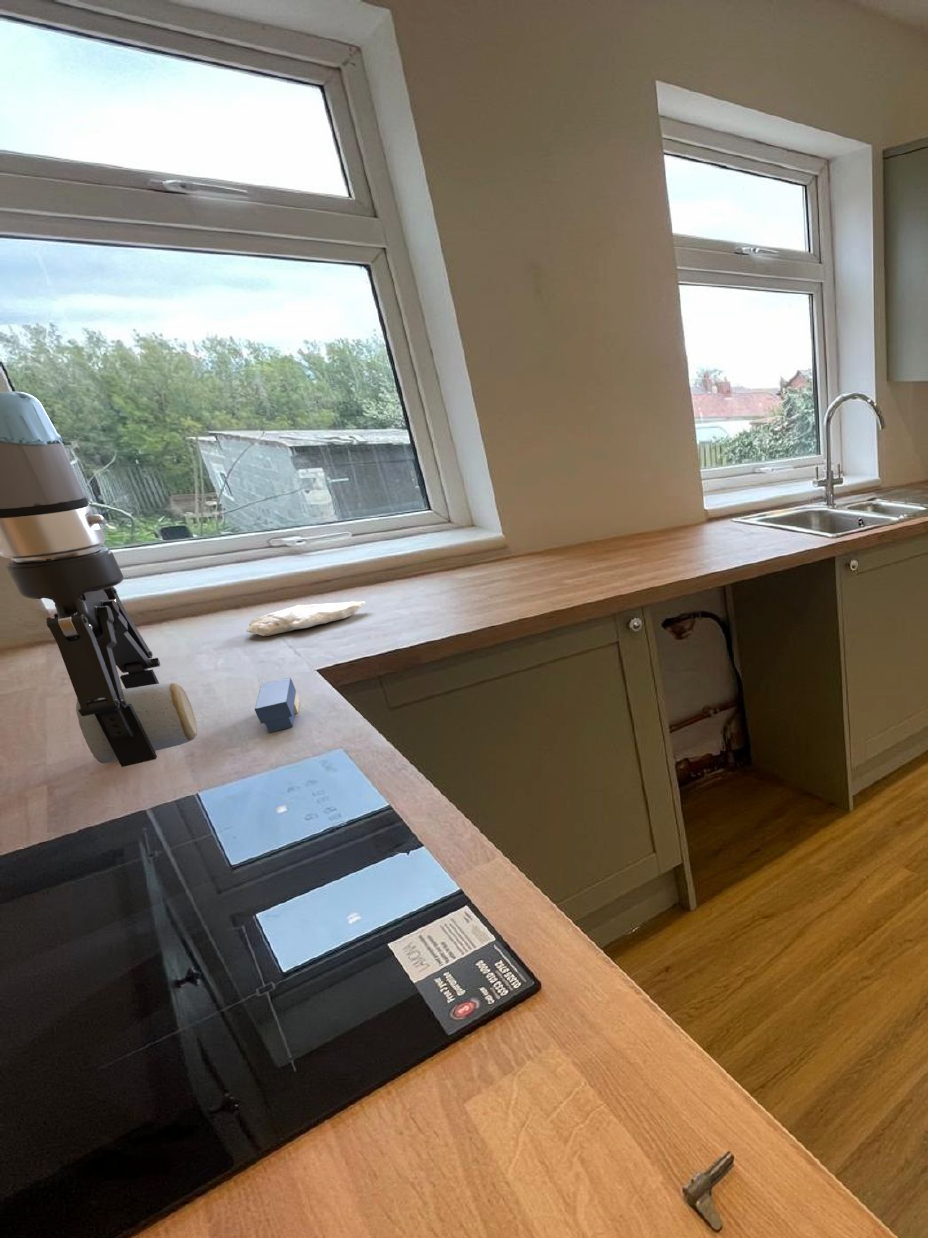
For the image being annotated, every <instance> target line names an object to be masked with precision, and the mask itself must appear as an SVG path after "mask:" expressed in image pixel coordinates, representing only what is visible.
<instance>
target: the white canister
mask: <svg viewBox="0 0 928 1238" xmlns="http://www.w3.org/2000/svg"><path fill="white" fill-rule="evenodd" d="M122 690H123V694H124V698H125V700H126V702H127V704H130V703H131V704H132V706H133V708H134V710H135V712H136V714H137V717H138V719H139V721H140V723H141V725H142V727H143V729H144V731H145V733H146V735H147V737H148V739H149V741H150V743H151V745H152V747H153V749H154V751H155V752H156V751H160V750H165V749H169V748H172V747H178V746H180V745H184V744H186V743H189V742H191V741H193V740H195V738H196V737H197V736H198V724H197V720H196V716H195V713H194V709H193V706H192V704H191V701H190V699H189V697H188V694H187V693H186V691H185V689H184V688H183V686H181V685H180V684H178V683H174V682H173V683H172V682H171V683H170V682H169V683H159V684H153V685H147V686H141V687H135V688H128V689H125V688H122ZM102 699H106V698H98V700H102ZM80 708H81V707H80V704H79V702H78V699H76V703H75V712H76V716H77V720H78V726H79V727H80V730H81V733H82V736H83V738H84V740H85V743H86V745H87V747H88V748H89V751H90V753H91V754H92V756H93V758H94V759H96V761H98V762H99V763H100V764H109V763H112V762H116V761H118V759H117V757H116V755H115V753H114V751H113V749H112V747H111V745H110V743H109V741H108V740H107V738H106V736H105V734H104V732H103V730H102V728H101V726H100V724H99V722H98V720H97V718H96V716H95V714H92V715H87V716H81V714H80V713H79V709H80Z"/></svg>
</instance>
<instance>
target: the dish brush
mask: <svg viewBox="0 0 928 1238" xmlns="http://www.w3.org/2000/svg"><path fill="white" fill-rule="evenodd" d="M300 702H301V700H300V697H299V694H298V692H297V689H296V688H295V685H294V681H293V680H292V677H285V678H281V679H277V680H272V681H267V682H263V683H261V684H260V688H259V691H258V694H257V699H256V702H255V706H254V711H255V714H256V717H257V718H258V720H259V723H260V725H263V724H264V725H265V727H266V730H267V732H268V733H270V734H271V733H274V732H278V731H283V730H286V729H291V728H293V727H294V722H295V715H296V714H299V708H300Z"/></svg>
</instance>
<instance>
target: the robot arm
mask: <svg viewBox="0 0 928 1238" xmlns="http://www.w3.org/2000/svg"><path fill="white" fill-rule="evenodd" d="M90 505H91V504H90V503H89V501H88V498H87V496H86V495H85V493H84V491H83V488H82V487H81V484H80V481H79V479H78V478H77V475H76V473H75V471H74V468H73V466H72V463H71V461H70V459H69V456H68V453H67V451H66V449H65V446H64V444H63V438H62V436H61V434H59V432H58V431H57V430H56V428H55V426H54V425H53V422H52V421H51V419H50V417H49V414H47V411H46V409H45V408H44V406H43V404H42V403H41V402H40V400H39V399H38V398H37V397H35V396H34V395H32V394H29V393H26V392H23V391H0V557H2V558H6V559H10V561H8V562H7V565H6V566H5V567H6V570H7V571H8V574H9V575H10V578H11V579H12V581H13V583H14V584H15V586H16V589H17V591H18V592H19V594H20V595H21V596H22V597H23V598H27V599H33V600H42V599H47V600H51V601H52V602H53V603H54V607H55V610H56V612H55V613H54V614H53V617H52V618H47V619H46V626H47V628H48V629H49V630H50V632H51V634H52V637H53V638H54V640H55V642H56V644H57V647H58V650H59V653H60V655H61V658H62V660H63V661H62V662H63V663H64V666H65V668H66V672H67V674H68V676H69V679H70V683H71V685H72V688H73V690H74V694H75V696H76V698H77V699H78V702H79V704H80V707H81V708H80V709H79V713H80V714H81V716H87V715H92V714H95V716H96V718H97V720H98V722H99V724H100V726H101V728H102V730H103V732H104V734H105V736H106V738H107V740H108V741H109V743H110V745H111V747H112V749H113V751H114V753H115V755H116V757H117V759H118V760H117V761H118V763H119V765H120V766H121V768H124V767H128V766H132V765H133V766H134V765H137V764H142V763H145V762H150V761H155V760H157V758H158V755H157V753H156V751H154V749H153V747H152V745H151V743H150V741H149V739H148V737H147V735H146V733H145V731H144V729H143V727H142V725H141V723H140V721H139V719H138V717H137V714H136V712H135V710H134V708H133V706H132V704H131V703H130V704H127V702H126V700H125V698H124V694H123V690H122V689H123V687H124V689H128V688H135V687H141V686H147V685H153V684H160V682H159V680H158V678H157V675H156V674H155V672H154V669H152V668H158V667H161V662H160V659H159V657H154V658H153V656H154V655H153V651H152V650H151V649H150V648H149V646H148V644H147V643H146V641H145V640H144V637H143V636H142V635H141V633H140V632H139V630H138V628H137V626H136V625H135V623H134V622H133V620H132V618H131V617H130V615H129V613H128V612H127V610H126V608H125V607H124V605H123V604H122V601H121V599H120V597H119V595H118V591H117V589H116V588H115V587H114V586H117V585H119V584H121V583H122V582H123V581H124V575H123V572H122V570H121V568H120V566H119V563H118V562H117V559H116V557H115V555H114V553H113V551H112V550H111V549H109V548H108V547H103V546H101V545H103V544H105V542H106V541H107V539H106V537H105V535H104V533H103V530H102V528H101V527H100V525H102V524H104V523H105V521H106V519H105V517H103V515H102V514H93V509H92V507H91V506H90ZM118 669H119V671H120V672H121V673H122V674H121V675H119V672H118ZM121 682H122V683H121ZM122 686H123V687H122ZM98 698H106V699H102V700H98ZM77 699H76V700H77Z"/></svg>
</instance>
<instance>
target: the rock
mask: <svg viewBox="0 0 928 1238" xmlns="http://www.w3.org/2000/svg"><path fill="white" fill-rule="evenodd" d="M365 604H366V601H363V600H361V601H353V600H352V601H351V600H350V601H345V602H344V601H343V602H327V603H312V604H296V605H294V606H291V607H287V608H284V609H281V610H277V611H273V612H270V613H267V614H264V615H261V616H259V617H257V618H254V619H253V620H251V621H250V622H249V623H248V627H247V628H246V632H247V633H249V634H254V635H259V636H263V637H268V636H269V637H270V636H273V635H278V634H283V633H288V632H292V631H295V630H303V629H308V628H312V627H315V626H318V625H323V624H324V625H325V624H327V623H328V624H329V623H331V622H335V621H340V620H343V619H347V618H349V617H351V616H353V615H355V614H356V613H357V612H358V611H359V610H360V609H361V607H363V606H364V605H365Z"/></svg>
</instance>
